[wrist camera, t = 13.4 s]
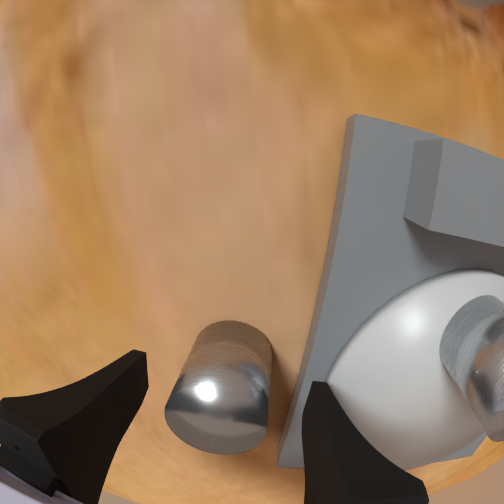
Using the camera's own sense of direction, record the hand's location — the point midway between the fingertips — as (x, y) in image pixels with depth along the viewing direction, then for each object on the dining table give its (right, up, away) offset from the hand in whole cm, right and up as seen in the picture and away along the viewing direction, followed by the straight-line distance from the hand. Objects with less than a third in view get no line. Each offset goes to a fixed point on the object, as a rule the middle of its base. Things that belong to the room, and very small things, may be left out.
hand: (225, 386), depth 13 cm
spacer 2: (+11, +2, -1) cm, 11 cm away
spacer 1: (0, 0, +3) cm, 3 cm away
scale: (+11, +1, +2) cm, 11 cm away
